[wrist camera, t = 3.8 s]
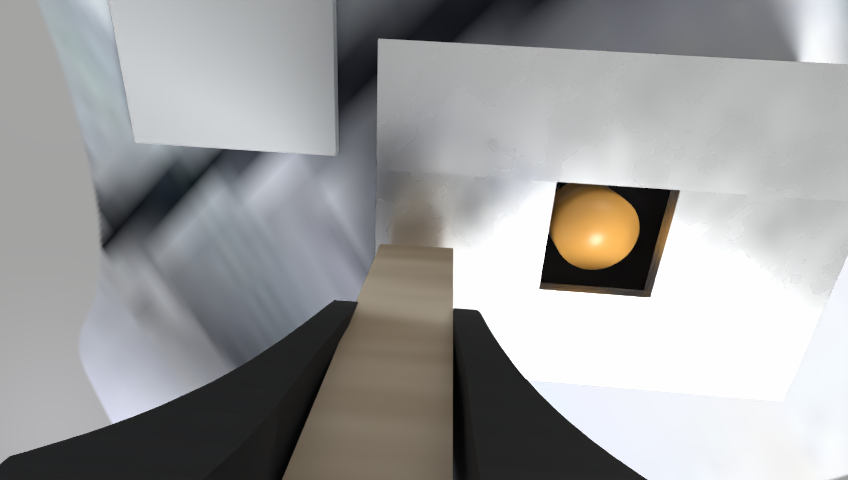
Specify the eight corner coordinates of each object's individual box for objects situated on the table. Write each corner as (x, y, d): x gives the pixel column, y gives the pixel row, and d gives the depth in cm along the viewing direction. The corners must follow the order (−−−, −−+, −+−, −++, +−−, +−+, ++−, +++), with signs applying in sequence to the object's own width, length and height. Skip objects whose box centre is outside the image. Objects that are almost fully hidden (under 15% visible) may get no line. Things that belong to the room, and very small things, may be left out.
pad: (339, 153, 19) (335, 155, 19) (143, 140, 20) (135, 142, 19) (334, -89, 16) (330, -95, 16) (100, -99, 17) (88, -105, 16)
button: (611, 252, 18) (629, 272, 16) (539, 246, 18) (548, 266, 17) (627, 182, 17) (648, 195, 15) (550, 177, 17) (562, 189, 15)
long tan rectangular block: (448, 311, 15) (442, 616, 7) (380, 307, 15) (290, 601, 7) (453, 248, 14) (452, 507, 6) (380, 243, 14) (276, 492, 6)
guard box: (711, 329, 22) (782, 401, 17) (390, 304, 22) (373, 366, 17) (801, 69, 17) (930, 69, 12) (397, 47, 18) (377, 38, 13)
